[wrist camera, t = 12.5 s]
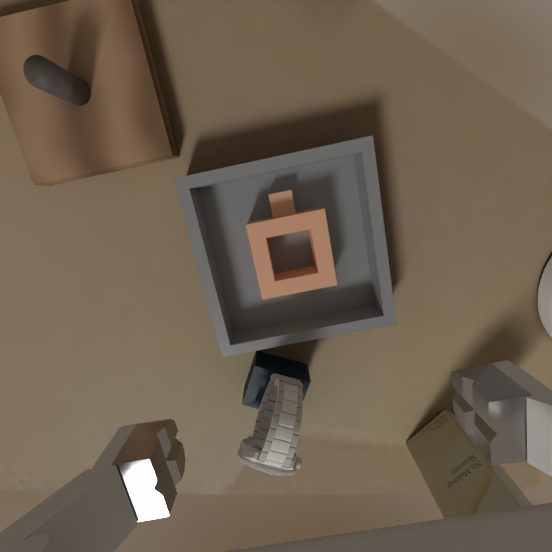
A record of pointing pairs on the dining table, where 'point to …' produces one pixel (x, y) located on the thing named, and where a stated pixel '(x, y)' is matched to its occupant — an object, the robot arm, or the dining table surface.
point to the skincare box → (461, 471)
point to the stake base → (111, 80)
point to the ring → (286, 223)
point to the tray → (291, 246)
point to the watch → (274, 413)
